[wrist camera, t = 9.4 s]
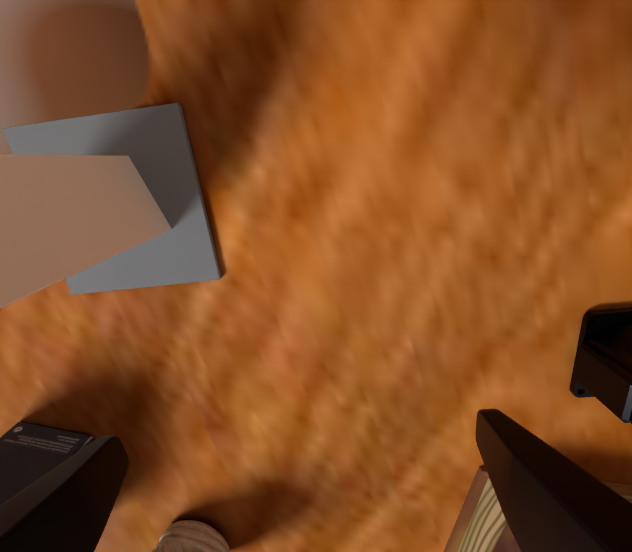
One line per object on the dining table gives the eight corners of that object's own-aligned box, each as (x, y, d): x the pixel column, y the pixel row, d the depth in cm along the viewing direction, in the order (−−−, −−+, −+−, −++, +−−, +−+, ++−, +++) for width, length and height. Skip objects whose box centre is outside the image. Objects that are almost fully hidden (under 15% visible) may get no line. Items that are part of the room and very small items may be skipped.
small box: (13, 417, 25) (-184, 580, 16) (96, 432, 26) (-47, 602, 16) (27, 505, 29) (-126, 682, 19) (99, 518, 29) (-15, 699, 20)
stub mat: (180, 103, 17) (177, 102, 17) (221, 277, 21) (219, 279, 20) (9, 129, 18) (2, 128, 18) (76, 292, 21) (71, 294, 21)
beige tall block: (128, 154, 18) (-303, 148, 6) (173, 229, 19) (-95, 355, 7) (63, 188, 19) (-440, 248, 6) (111, 258, 20) (-227, 416, 8)
